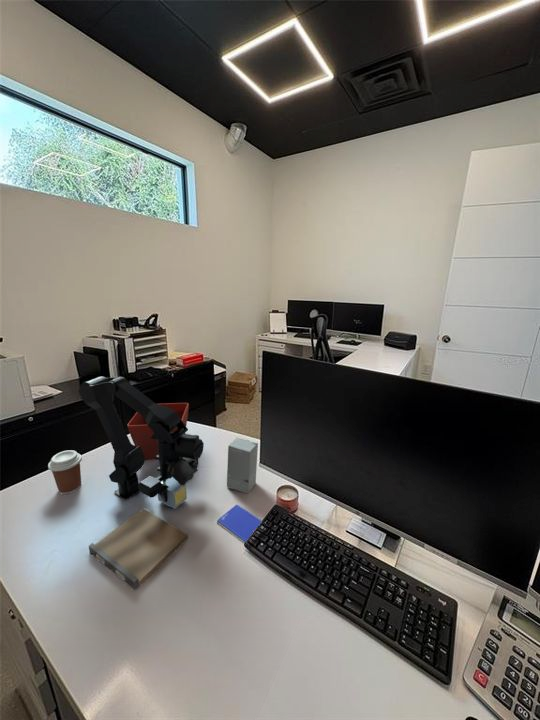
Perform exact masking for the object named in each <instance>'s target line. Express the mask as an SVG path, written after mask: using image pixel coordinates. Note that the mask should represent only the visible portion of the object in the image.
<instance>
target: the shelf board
mask: <svg viewBox="0 0 540 720" xmlns="http://www.w3.org/2000/svg"><path fill="white" fill-rule="evenodd" d="M188 539H189V536H188V533H186V532H184V531H182V530H181V529H179V528H178V527H176V526H174V525H173V524H171V523H169V522H168V521H165V520H164V519H162V518H160V517H159V516H157V515H155V514H154V513H152V512H151V511H149V510H147V509H145V508H142V509H141V510H139V511H138V512H136V513H135V514H134V515H132V516H131V517H130V518H128V519H126V521H124V522H123V523H122V524H120V525H119V526H118V527H116V528H115V529H114V530H112V531H111V532H110V533H108V534H107V535H106V536H105V537H103V538H102V539H100V540H99V541H98V542H96V543H94V542H92V543H90V544H89V545H88V550H89V555H91V556H92V555H93V556H92V557H94V558H95V559H96V560H97V561H98V560H99V561H98V562H99V563H101V564H102V565H104V566H105V567H106V568H107V569H108V570H109V571H111V572H112V573H113V574H114V573H115V574H114V575H115V576H116V577H118V578H119V579H120V580H122V581H123V582H124V583H125V584H127V586H129V587H131V588H132V589H133V590H134V591H137V590H138V589H139V588H140V587H141V586H142V585H143V584H144V583H145V582H146V581H147V580H148V579H149V578H151V576H152V575H153V574H154V573H155V572H156V571H157V570H158V569H159V568H160V567H161V566H162V565H163V564H164V563H165V562H167V560H168V559H169V558H170V557H171V556H172V555H174V553H176V551H178V549H179V548H180V547H181V546H183V544H184V543H186V541H187V540H188Z"/></svg>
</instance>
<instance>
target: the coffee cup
mask: <svg viewBox="0 0 540 720" xmlns="http://www.w3.org/2000/svg"><path fill="white" fill-rule="evenodd" d="M82 457H83V456H82V455H81V454H80V453H78V452H77V451H76V450H72V449H71V450H63V451H60V452H58V453H56V454H55V455H53V456H52V457H51V459H50V461H49V462H48V464H47V469H48V470H49V471H50V472H52V474H53V479H54V481H55V484H56V485H55V486H56V487H57V490H58V493H59V492H60V493H62V494H61V495H69V494H68V493H70V494H72V492H73V493H75V492H77V491H79V489H80V488H81V487H82V486H83V485H82V484H81V483H82V475H81V474H82V473H81V462H82V460H83V459H82ZM76 490H77V491H76ZM74 491H75V492H74ZM60 493H59V494H60Z"/></svg>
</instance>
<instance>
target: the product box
mask: <svg viewBox="0 0 540 720" xmlns="http://www.w3.org/2000/svg"><path fill="white" fill-rule="evenodd" d="M166 485H167V486H169V488H168V489H167V502H165V501H164V500H163V499H162V498H161V496H160V495H159V494H157V498H158V501H159V502H161V503H163V504H164V505H166V506H168V507H170V508H172V509H174V510H175V509H176V508H177V507H179V506H180V505H181V504H182V503H184V502H185V501H186V500H187V499H188V498H187V495H188V494H187V483H186V484H185V485H180V484H179V483H178V482H177V481H176V480H175V479H174V478H173V477H172V478H169V479H168V480H166Z"/></svg>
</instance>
